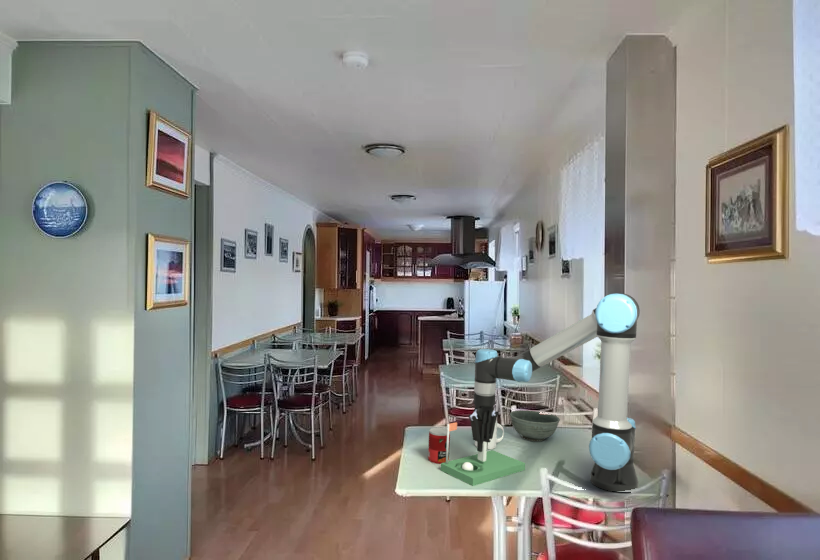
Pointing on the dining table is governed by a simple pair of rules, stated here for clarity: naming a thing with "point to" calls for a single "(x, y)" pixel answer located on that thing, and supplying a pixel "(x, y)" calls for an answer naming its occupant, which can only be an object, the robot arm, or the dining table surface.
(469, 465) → the ball
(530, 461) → the dining table surface
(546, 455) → the dining table surface
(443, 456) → the canned food
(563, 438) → the dining table surface
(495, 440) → the mug
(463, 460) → the putting mat
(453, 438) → the dining table surface
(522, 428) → the bowl
